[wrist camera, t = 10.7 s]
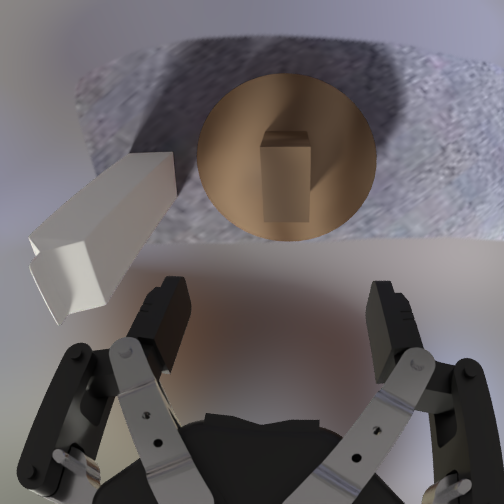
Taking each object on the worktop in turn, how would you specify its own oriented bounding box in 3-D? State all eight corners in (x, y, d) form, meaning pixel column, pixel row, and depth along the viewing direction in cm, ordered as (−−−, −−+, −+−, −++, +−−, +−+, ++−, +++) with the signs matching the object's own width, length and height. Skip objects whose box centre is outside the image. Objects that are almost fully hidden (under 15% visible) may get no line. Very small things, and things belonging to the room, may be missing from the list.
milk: (173, 151, 34) (60, 268, 16) (178, 197, 37) (91, 336, 19) (127, 153, 34) (2, 260, 16) (134, 197, 38) (34, 321, 20)
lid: (377, 77, 22) (400, 83, 17) (364, 237, 31) (376, 273, 26) (190, 80, 24) (165, 86, 19) (210, 235, 33) (196, 271, 28)
